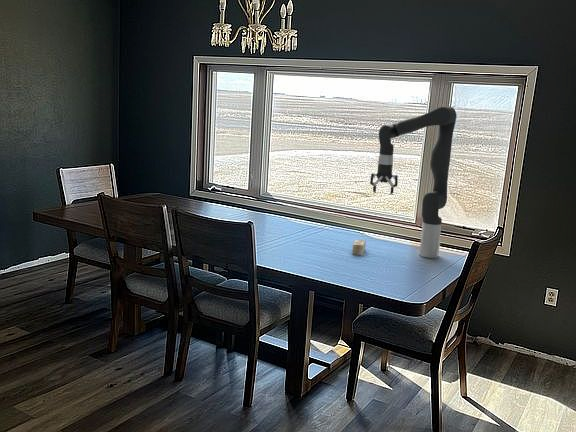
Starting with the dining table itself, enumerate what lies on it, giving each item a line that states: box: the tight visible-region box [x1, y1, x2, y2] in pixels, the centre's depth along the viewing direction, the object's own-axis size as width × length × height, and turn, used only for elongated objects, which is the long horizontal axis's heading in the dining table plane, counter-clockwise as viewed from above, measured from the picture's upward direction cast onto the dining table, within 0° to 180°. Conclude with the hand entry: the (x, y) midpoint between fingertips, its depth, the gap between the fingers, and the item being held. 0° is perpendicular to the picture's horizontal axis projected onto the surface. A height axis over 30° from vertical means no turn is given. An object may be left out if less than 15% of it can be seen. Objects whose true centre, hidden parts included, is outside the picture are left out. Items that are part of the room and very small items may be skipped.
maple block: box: [351, 238, 366, 256], centre depth 300 cm, size 5×5×12 cm
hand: (382, 193), depth 312 cm, fingers open, 8 cm apart
